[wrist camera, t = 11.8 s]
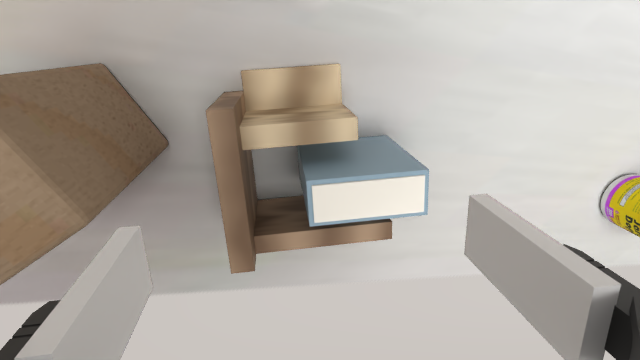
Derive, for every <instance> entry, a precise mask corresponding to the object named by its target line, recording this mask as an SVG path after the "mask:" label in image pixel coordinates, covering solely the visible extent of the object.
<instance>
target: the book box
mask: <svg viewBox="0 0 640 360" xmlns="http://www.w3.org/2000/svg"><path fill="white" fill-rule="evenodd" d="M297 149H298V161H299V174H300V181H301V186H302V191H303V196H304V201H305V206H306V211H307V216H308V221H309V226H310V227H312V226H321V225H331V224H341V223H350V222H360V221H370V220H380V219H389V218H399V217H409V216H418V215H427V212H428V182H429V169H428V168H426V167H425V166H424V165H423V164H421V163H420V162H419V161H418V160H416V159H415V158H414V157H413V156H412V155H410V154H409V153H408V152H407V151H405V150H404V149H403V148H402V147H400V146H399V145H398V144H397V143H395V142H394V141H393V140H392V139H390V138H389V137H388V136H387V135H384V136H372V137H360V138H358V140H353V141H342V142H331V143H319V144H308V145H297Z"/></svg>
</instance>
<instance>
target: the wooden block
mask: <svg viewBox="0 0 640 360" xmlns="http://www.w3.org/2000/svg"><path fill="white" fill-rule="evenodd" d="M167 146H168V142H167V140H166V139H165V138H164V136H163V135H162V134H161V133H160V132H159V130H158V129H157V128H156V127H155V126H154V124H153V123H152V122H151V121H150V120H149V118H148V117H147V116H146V115H145V114H144V112H143V111H142V110H141V109H140V108H139V106H138V105H137V104H136V103H135V102H134V100H133V99H132V98H131V97H130V96H129V94H128V93H127V92H126V91H125V90H124V88H123V87H122V86H121V85H120V84H119V82H118V81H117V80H116V79H115V78H114V76H113V75H112V74H111V73H110V72H109V70H108V69H107V68H106V67H105V66H104V65H103V64H101V63H100V64H91V65H82V66H74V67H65V68H56V69H47V70H39V71H30V72H21V73H12V74H4V75H0V285H1V284H3V283H4V282H6V281H7V280H8V279H10V278H11V277H13V276H14V275H16V274H17V273H19V272H20V271H21V270H23V269H24V268H26V267H27V266H29V265H30V264H32V263H33V262H34V261H36V260H37V259H39V258H40V257H42V256H43V255H45V254H46V253H48V252H49V251H50V250H52V249H53V248H55V247H56V246H58V245H59V244H61V243H62V242H63V241H65V240H66V239H68V238H69V237H71V236H72V235H74V234H75V233H76V232H78V231H79V230H81V229H82V228H84V227H85V226H86V225H88V224H89V223H90V222H91V221H92V220H93V219H94V218H95V217H96V216H97V215H98V214H99V213H100V212H101V211H102V210H103V209H104V208H105V207H106V206H107V205H108V204H109V203H110V202H111V201H112V200H113V199H114V198H115V197H116V196H117V195H118V194H119V193H120V192H121V191H122V190H123V189H124V188H125V187H126V186H127V185H128V184H130V183H131V182H132V181H133V180H134V179H135V178H136V177H137V176H138V175H139V174H140V173H141V172H142V171H143V170H144V169H145V168H146V167H147V166H148V165H149V164H150V163H151V162H152V161H153V160H154V159H155V158H156V157H157V156H158V155H159V154H160V153H161V152H162V151H163V150H164V149H165V148H166V147H167Z"/></svg>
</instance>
